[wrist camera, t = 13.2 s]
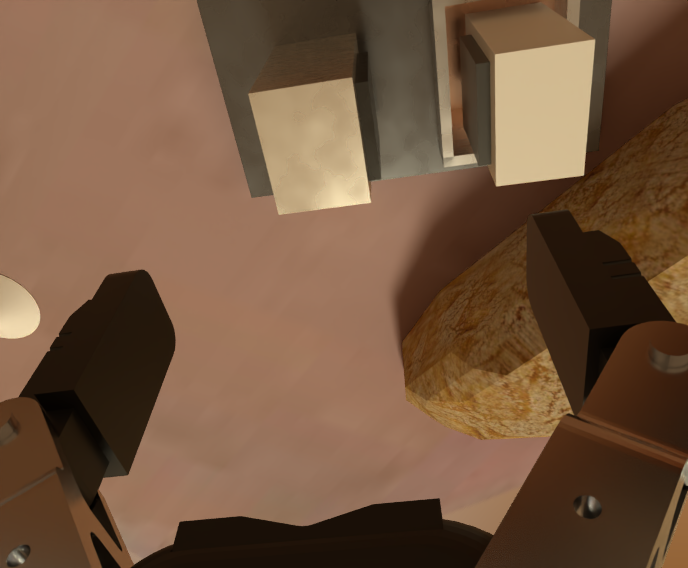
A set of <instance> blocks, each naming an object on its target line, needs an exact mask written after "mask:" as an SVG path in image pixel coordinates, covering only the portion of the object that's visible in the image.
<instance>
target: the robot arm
mask: <svg viewBox="0 0 688 568" xmlns="http://www.w3.org/2000/svg"><path fill="white" fill-rule="evenodd" d="M526 281H527V291H528V297H529V301H530V305H531V308H532V311H533V313H534V316H535V318H536V321H537V323H538V326H539V328H540V331H541V334H542V336H543V339H544V341H545V344H546V346H547V349H548V351H549V354H550V356H551V359H552V361H553V364H554V366H555V369H556V371H557V374H558V376H559V379H560V381H561V384H562V386H563V389H564V391H565V394H566V396H567V399H568V401H569V404H570V406H571V409H572V411H573V414H574V415H573V414H570V413H568V414H566V415H565V416H564V417H563V418H562V419H561V420H560V422H559V423H558V425H557V427H556V428H555V430H554V432H553V434H552V435H551V437H550V439H549V440H548V442H547V444H546V446H545V447H544V449H543V451H542V453H541V454H540V456H539V458H538V459H537V461H536V463H535V465H534V466H533V468H532V470H531V472H530V473H529V475H528V477H527V478H526V480H525V482H524V484H523V485H522V487H521V489H520V491H519V492H518V494H517V496H516V497H515V499H514V501H513V503H512V504H511V506H510V508H509V510H508V511H507V513H506V515H505V517H504V518H503V520H502V522H501V524H500V525H499V527H498V529H497V530H496V532H495V534H494V535H492V534H490V533H488V532H485V531H483V530H481V529H478V528H476V527H473V526H470V525H466V524H463V523H460V522H456V521H450V520H444V519H442V513H441V506H440V498H438V499H427V500H416V501H405V502H394V503H383V504H373V505H370V506H367V507H364V508H361V509H358V510H355V511H352V512H349V513H346V514H343V515H340V516H337V517H334V518H331V519H328V520H325V521H322V522H319V523H316V524H313V525H309V526H295V525H289V524H284V523H278V522H272V521H266V520H260V519H254V518H248V517H243V516H238V517H227V518H216V519H205V520H194V521H183V522H179V526H178V530H177V534H176V537H175V541H174V544H173V545H170V546H167V547H165V548H163V549H161V550H159V551H157V552H154V553H153V554H151V555H149V556H147V557H146V558H144V559H142V560H141V561H139V562H138V563H136V564H135V565H134V564H133V562H132V560H131V557H130V555H129V553H128V550H127V548H126V546H125V544H124V541H123V539H122V537H121V535H120V532H119V530H118V528H117V526H116V523H115V521H114V519H113V516H112V514H111V512H110V510H109V507H108V505H107V503H106V501H105V498H104V497H103V495H102V494H101V492H100V491H99V486H100V484H101V481H102V479H103V478H105V477H115V476H125V475H128V474H129V471H130V469H131V466H132V463H133V461H134V458H135V455H136V453H137V450H138V447H139V445H140V442H141V439H142V437H143V434H144V431H145V429H146V426H147V423H148V421H149V418H150V415H151V413H152V410H153V407H154V405H155V402H156V399H157V397H158V394H159V391H160V389H161V386H162V383H163V381H164V378H165V375H166V373H167V370H168V367H169V365H170V362H171V359H172V357H173V354H174V351H175V332H174V327H173V324H172V322H171V320H170V318H169V315H168V313H167V311H166V309H165V306H164V304H163V302H162V300H161V298H160V295H159V293H158V291H157V289H156V287H155V284H154V282H153V280H152V278H151V276H150V275H149V273H148V272H147V271H145V270H136V271H129V272H122V273H115V274H109V275H108V276H106V278H105V279H104V281H103V282H102V284H101V285H100V287H99V289H98V290H97V292H96V294H95V295H94V297H93V299H92V300H88V301H87V302H86V303H85V304H83V305H82V306H81V307H80V308H79V309H78V310H77V311H75V312H74V313H73V314H72V315H71V316H70V317H69V318H68V320H67V322H66V323H65V325H64V326H63V328H62V329H61V331H60V333H59V337H56V339H55V340H54V342H53V344H52V345H51V347H50V351H48V352H47V353H46V355H45V356H44V358H43V359H42V361H41V362H40V364H39V365H38V367H37V369H36V370H35V372H34V373H33V375H32V376H31V378H30V380H29V381H28V383H27V384H26V386H25V387H24V389H23V391H22V392H21V394H20V395H19V397H18V398H13V399H9V400H5V401H3V402H0V568H662V566H663V563H664V560H665V557H666V555H667V552H668V549H669V546H670V543H671V541H672V538H673V535H674V532H675V529H676V526H677V524H678V521H679V518H680V515H681V512H682V510H683V507H684V504H685V501H686V498H687V495H688V325H685V324H682V323H677V322H676V321H675V320H674V318H673V317H672V315H671V314H670V313H669V311H668V310H667V308H666V307H665V305H664V304H663V303H662V301H661V300H660V298H659V297H658V296H657V294H656V293H655V291H654V290H653V288H652V287H651V286H650V284H649V283H648V281H647V280H646V279H645V277H644V276H641V271H640V270H639V269H638V267H637V266H636V264H635V263H634V262H632V259H631V257H630V256H629V254H628V253H627V252H626V250H625V249H624V247H623V246H622V245H621V243H620V242H618V241H617V240H615V239H613V238H612V237H610V236H608V235H607V234H605V233H603V232H602V231H600V230H595V231H588V232H583V231H582V230H581V228H580V227H579V225H578V223H577V222H576V220H575V219H574V217H573V215H572V214H571V212H570V211H569V210H567V209H566V210H559V211H552V212H545V213H538V214H531V215H529V216H528V218H527V253H526Z"/></svg>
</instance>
